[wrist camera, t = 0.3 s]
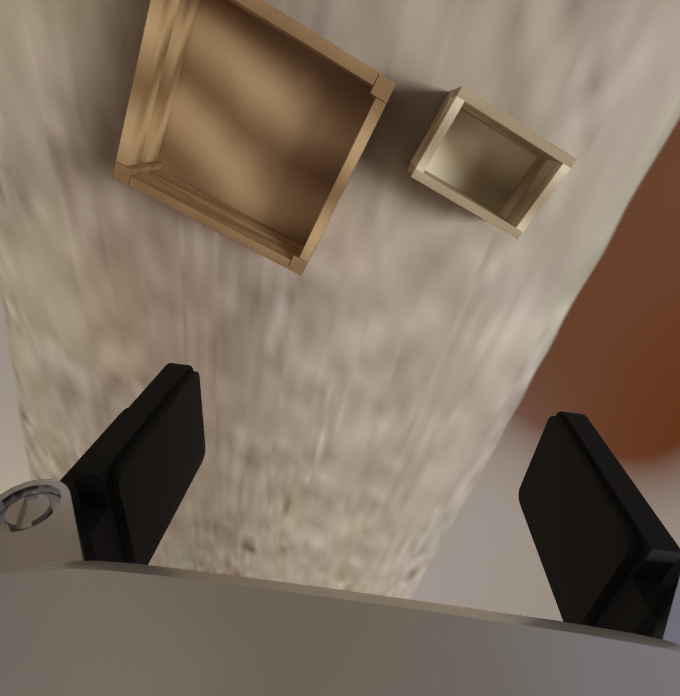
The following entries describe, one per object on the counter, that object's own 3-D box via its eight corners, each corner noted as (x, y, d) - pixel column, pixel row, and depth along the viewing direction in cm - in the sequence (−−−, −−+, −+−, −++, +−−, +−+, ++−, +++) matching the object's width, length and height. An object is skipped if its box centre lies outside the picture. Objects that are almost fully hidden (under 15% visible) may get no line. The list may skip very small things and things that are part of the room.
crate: (203, -29, 29) (163, -62, 24) (393, 89, 32) (396, 83, 26) (151, 168, 36) (112, 177, 31) (312, 254, 38) (301, 275, 33)
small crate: (449, 91, 31) (462, 86, 26) (545, 152, 33) (577, 159, 28) (406, 167, 34) (410, 176, 29) (497, 221, 36) (517, 239, 30)
